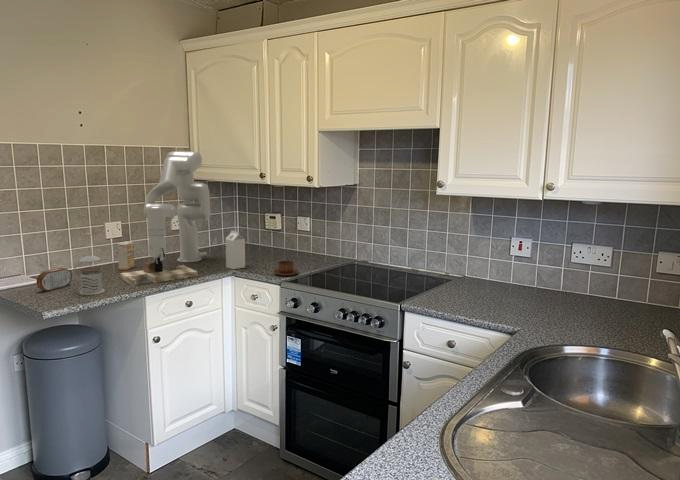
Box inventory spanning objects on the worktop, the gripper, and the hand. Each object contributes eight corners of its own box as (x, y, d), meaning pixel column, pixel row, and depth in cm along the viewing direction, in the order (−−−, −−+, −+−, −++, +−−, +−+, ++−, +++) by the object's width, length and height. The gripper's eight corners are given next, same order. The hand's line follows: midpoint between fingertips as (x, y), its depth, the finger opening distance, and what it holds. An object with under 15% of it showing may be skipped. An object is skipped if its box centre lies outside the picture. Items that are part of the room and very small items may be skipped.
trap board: (183, 270, 251) (182, 265, 251) (197, 276, 238) (197, 271, 238) (120, 278, 232) (120, 273, 232) (132, 286, 219) (132, 280, 219)
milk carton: (237, 265, 264) (237, 229, 261) (245, 267, 259) (244, 231, 256) (225, 267, 259) (225, 231, 256) (233, 269, 254) (232, 232, 251)
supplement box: (128, 270, 249) (126, 244, 247) (118, 270, 249) (117, 244, 247) (135, 266, 257) (133, 241, 255) (125, 266, 257) (124, 241, 255)
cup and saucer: (302, 275, 244) (302, 263, 243) (279, 278, 238) (279, 265, 237) (291, 270, 254) (291, 259, 253) (269, 273, 248) (269, 261, 247)
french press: (99, 294, 205) (95, 234, 201) (70, 295, 204) (65, 234, 200) (108, 288, 215) (105, 231, 210) (80, 288, 214) (76, 230, 210)
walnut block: (152, 270, 239) (151, 260, 238) (157, 271, 236) (157, 262, 236) (143, 271, 235) (143, 262, 235) (149, 273, 233) (148, 263, 232)
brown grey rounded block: (68, 284, 221) (67, 265, 220) (73, 285, 220) (72, 266, 218) (36, 292, 207) (35, 272, 206) (42, 293, 206) (40, 273, 205)
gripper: (143, 231, 232) (145, 269, 236) (154, 235, 221) (156, 275, 224) (159, 230, 237) (160, 267, 240) (171, 234, 226) (172, 273, 229)
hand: (158, 271), depth 232 cm, fingers closed
